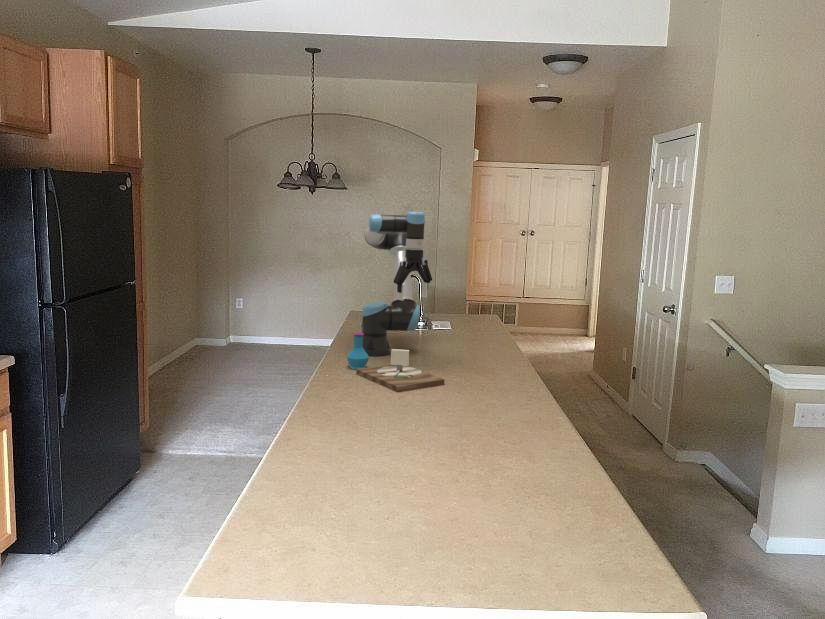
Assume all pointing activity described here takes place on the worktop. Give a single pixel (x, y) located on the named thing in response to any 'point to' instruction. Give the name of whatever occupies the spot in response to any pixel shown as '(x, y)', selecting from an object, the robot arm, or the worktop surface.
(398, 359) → the beige block with bar
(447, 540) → the worktop surface
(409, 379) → the tuner board
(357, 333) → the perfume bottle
